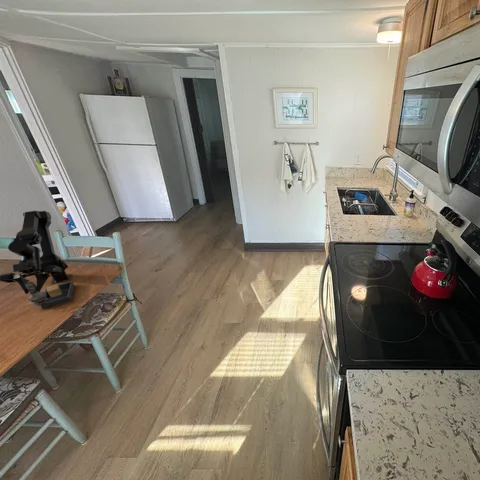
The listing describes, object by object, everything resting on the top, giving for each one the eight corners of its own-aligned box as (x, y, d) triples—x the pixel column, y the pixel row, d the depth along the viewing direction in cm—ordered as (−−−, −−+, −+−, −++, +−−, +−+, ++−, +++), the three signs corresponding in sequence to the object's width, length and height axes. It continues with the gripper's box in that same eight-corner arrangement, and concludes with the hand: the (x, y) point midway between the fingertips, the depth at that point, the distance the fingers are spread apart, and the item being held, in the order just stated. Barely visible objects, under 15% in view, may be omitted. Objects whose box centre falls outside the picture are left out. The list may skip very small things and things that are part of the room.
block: (50, 294, 132) (46, 287, 130) (61, 290, 134) (57, 284, 132) (51, 298, 129) (47, 291, 127) (61, 294, 132) (58, 287, 130)
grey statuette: (39, 307, 117) (25, 285, 112) (28, 305, 119) (14, 284, 113) (53, 298, 123) (40, 277, 117) (43, 297, 124) (30, 276, 118)
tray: (49, 292, 134) (46, 288, 132) (74, 286, 139) (72, 281, 137) (43, 309, 123) (39, 304, 121) (71, 301, 128) (68, 296, 126)
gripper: (-12, 259, 109) (-12, 296, 106) (46, 249, 116) (48, 284, 113) (8, 265, 119) (9, 299, 116) (61, 256, 126) (63, 288, 123)
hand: (32, 292), depth 116 cm, fingers closed on grey statuette, 3 cm apart
